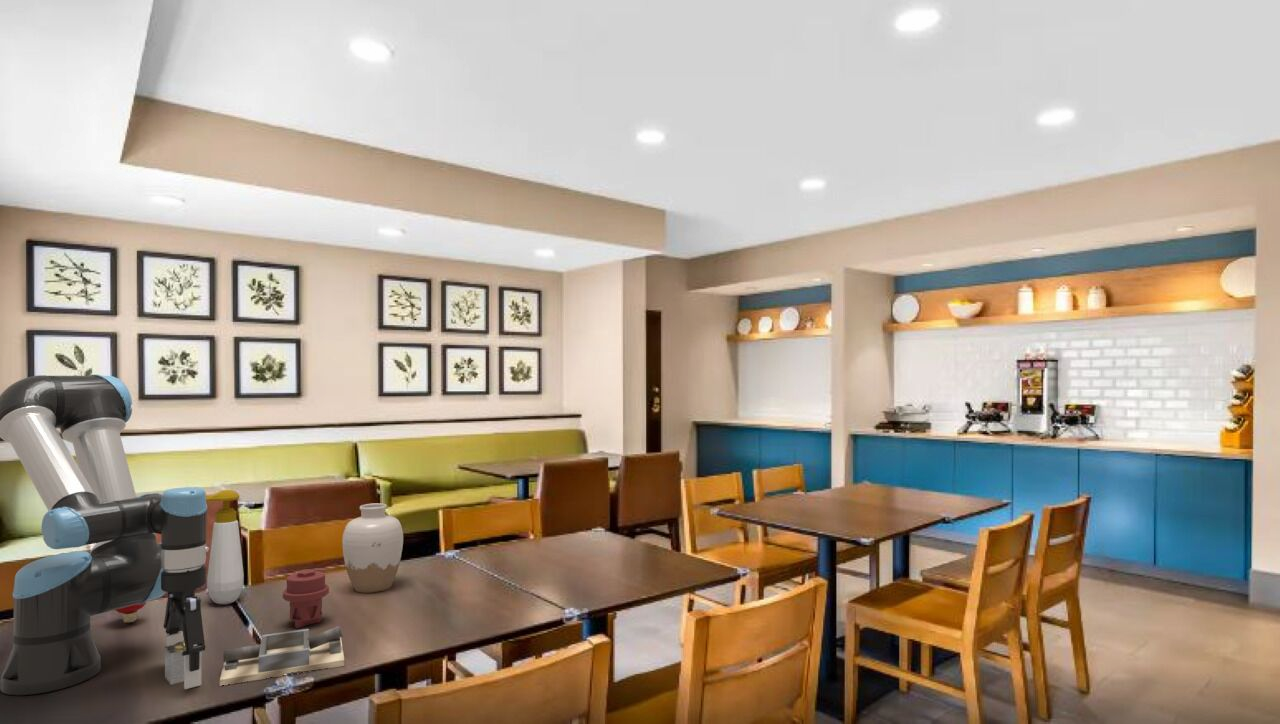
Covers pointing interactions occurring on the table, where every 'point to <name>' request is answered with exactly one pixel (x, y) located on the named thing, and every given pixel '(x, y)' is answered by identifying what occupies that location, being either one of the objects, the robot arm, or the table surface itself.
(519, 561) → the table surface
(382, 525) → the vase
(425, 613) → the table surface
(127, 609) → the red mushroom
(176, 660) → the block
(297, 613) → the mechanical component
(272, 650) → the shaft bench
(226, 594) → the soap bottle
